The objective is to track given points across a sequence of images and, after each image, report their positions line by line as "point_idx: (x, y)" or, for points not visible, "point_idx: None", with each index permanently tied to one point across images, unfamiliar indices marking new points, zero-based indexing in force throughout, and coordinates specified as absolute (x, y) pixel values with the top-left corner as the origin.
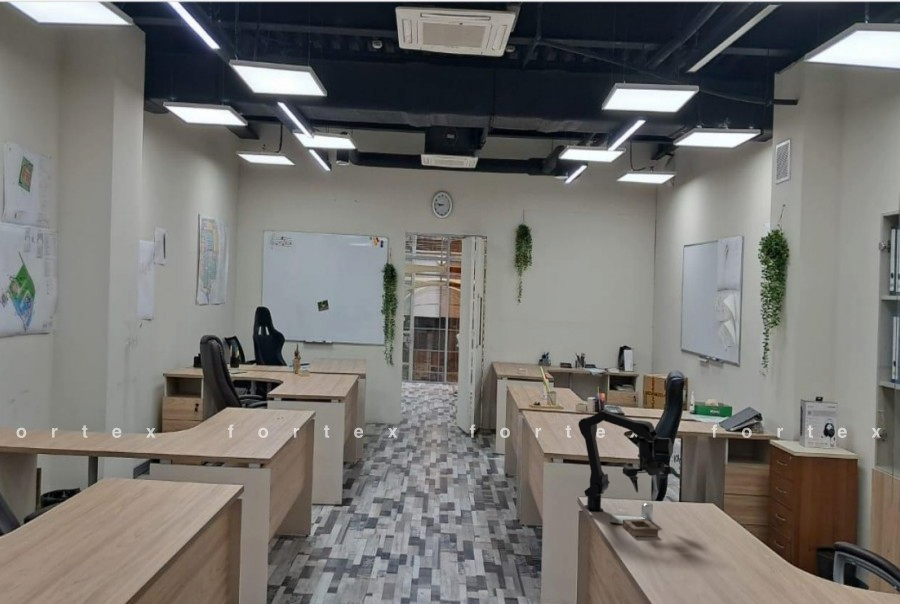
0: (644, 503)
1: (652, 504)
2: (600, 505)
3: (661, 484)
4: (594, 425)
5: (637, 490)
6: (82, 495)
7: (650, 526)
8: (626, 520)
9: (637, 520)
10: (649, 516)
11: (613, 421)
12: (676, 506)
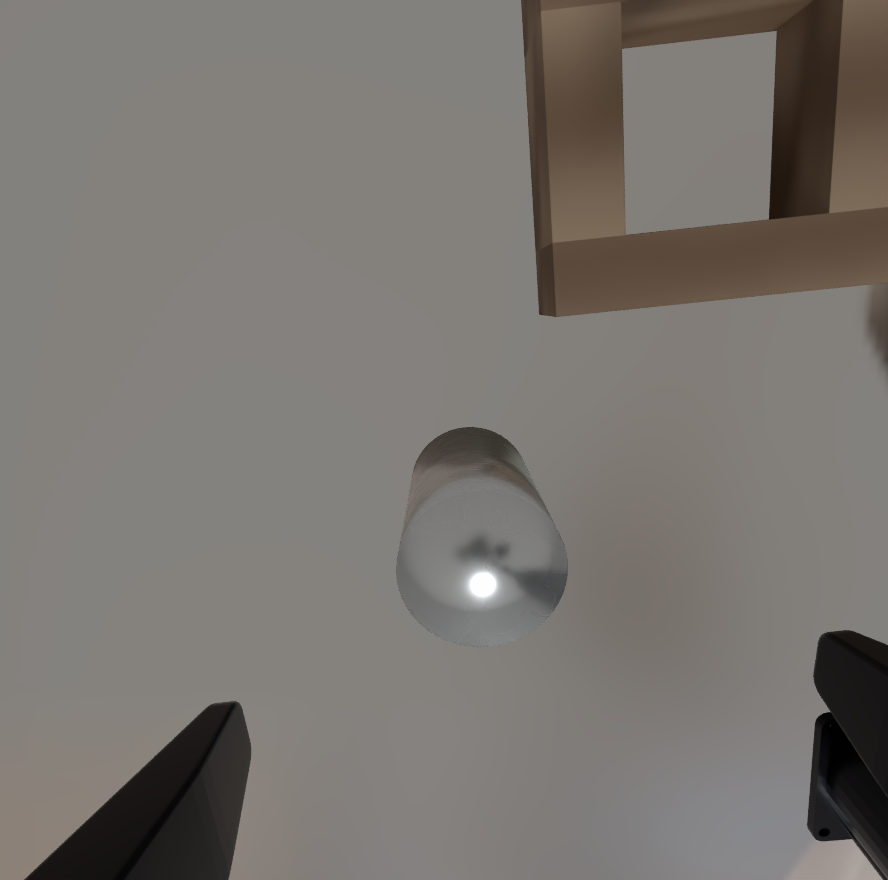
0: (519, 596)
1: (403, 560)
2: (872, 778)
3: (27, 878)
4: None
5: (883, 654)
6: None
7: (616, 16)
8: (863, 247)
9: (704, 260)
10: (465, 447)
11: None
12: None
